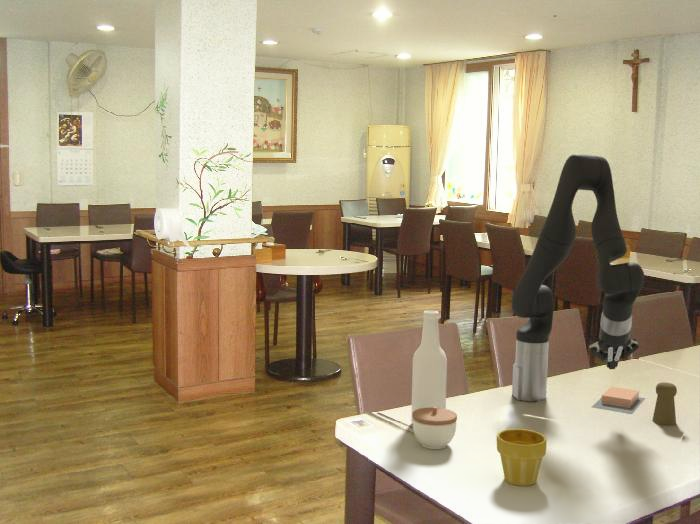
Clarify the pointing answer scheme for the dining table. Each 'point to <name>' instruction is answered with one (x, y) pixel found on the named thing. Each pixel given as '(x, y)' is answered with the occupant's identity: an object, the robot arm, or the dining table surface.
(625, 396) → the tile
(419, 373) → the alcohol
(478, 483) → the dining table surface
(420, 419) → the lidded jar
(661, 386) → the pepper mill
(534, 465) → the plant pot
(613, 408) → the mat
